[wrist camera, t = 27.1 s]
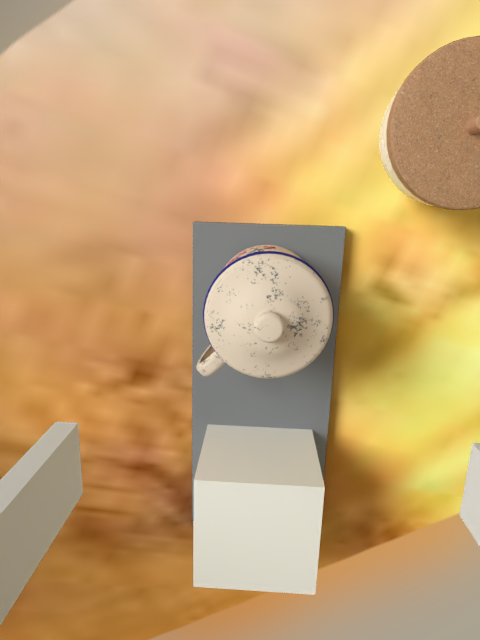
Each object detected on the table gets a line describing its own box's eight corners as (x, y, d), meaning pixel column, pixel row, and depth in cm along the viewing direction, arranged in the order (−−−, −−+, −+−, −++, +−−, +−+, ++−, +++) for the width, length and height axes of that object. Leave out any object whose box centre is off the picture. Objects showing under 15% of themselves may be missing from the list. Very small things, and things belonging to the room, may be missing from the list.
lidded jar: (382, 226, 39) (419, 233, 29) (348, 100, 36) (377, 64, 27) (508, 184, 37) (587, 176, 28) (481, 49, 35) (558, -6, 26)
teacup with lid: (266, 218, 37) (271, 224, 26) (339, 294, 39) (373, 330, 28) (170, 315, 40) (136, 358, 29) (242, 383, 41) (237, 450, 30)
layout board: (193, 513, 47) (191, 522, 45) (195, 221, 39) (192, 222, 38) (317, 520, 46) (319, 530, 45) (343, 226, 39) (346, 227, 37)
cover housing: (206, 513, 45) (193, 586, 37) (207, 424, 43) (193, 480, 34) (304, 519, 45) (315, 594, 36) (311, 429, 42) (324, 487, 34)
